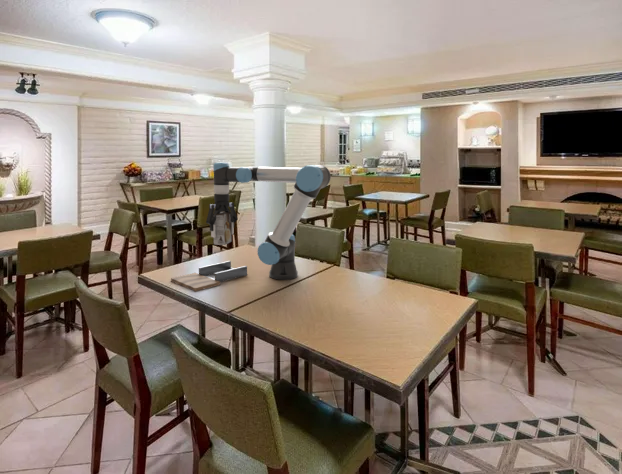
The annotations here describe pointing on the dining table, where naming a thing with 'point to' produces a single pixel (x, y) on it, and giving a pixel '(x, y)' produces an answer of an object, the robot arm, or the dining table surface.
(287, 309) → the dining table surface
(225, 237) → the coffee box
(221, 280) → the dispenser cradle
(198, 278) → the serving board
